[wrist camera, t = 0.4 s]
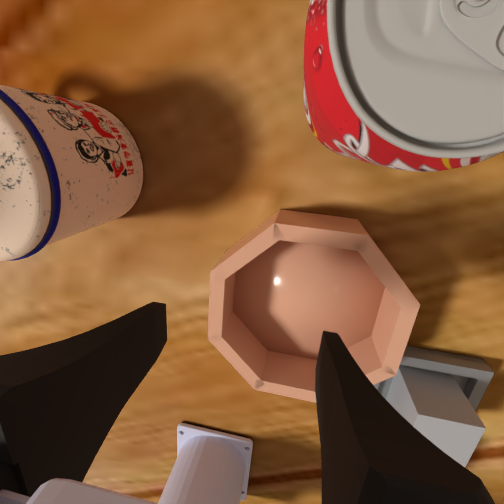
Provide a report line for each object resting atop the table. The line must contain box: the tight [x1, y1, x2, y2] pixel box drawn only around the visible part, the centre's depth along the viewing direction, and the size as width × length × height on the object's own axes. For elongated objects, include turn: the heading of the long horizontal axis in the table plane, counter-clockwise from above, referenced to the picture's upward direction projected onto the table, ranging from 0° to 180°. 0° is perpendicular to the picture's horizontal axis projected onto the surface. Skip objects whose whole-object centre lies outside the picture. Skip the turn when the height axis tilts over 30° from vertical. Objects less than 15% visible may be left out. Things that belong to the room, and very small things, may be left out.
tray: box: [374, 346, 494, 411], centre depth 24 cm, size 14×8×1 cm, turn 175°
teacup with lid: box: [0, 85, 143, 261], centre depth 16 cm, size 12×9×12 cm
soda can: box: [304, 0, 504, 172], centre depth 11 cm, size 7×7×13 cm
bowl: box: [208, 209, 420, 403], centre depth 21 cm, size 13×13×4 cm
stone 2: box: [386, 365, 486, 467], centre depth 21 cm, size 4×4×4 cm
